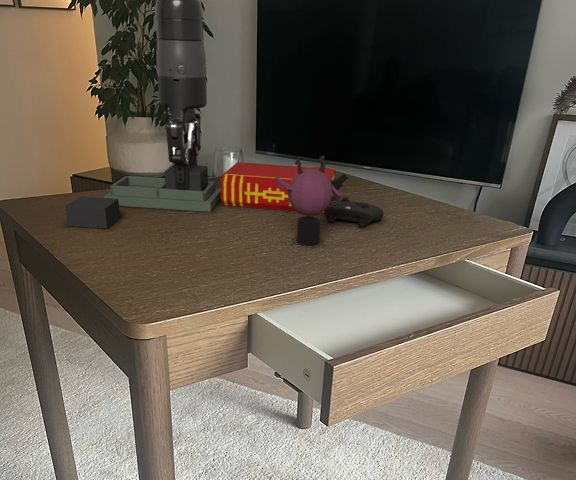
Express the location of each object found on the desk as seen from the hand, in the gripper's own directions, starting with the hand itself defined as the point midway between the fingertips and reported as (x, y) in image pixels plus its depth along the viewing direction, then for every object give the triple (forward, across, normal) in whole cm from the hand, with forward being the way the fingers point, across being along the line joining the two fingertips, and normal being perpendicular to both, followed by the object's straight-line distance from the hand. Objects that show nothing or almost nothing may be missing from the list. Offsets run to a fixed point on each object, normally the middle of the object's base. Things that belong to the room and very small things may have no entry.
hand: (186, 183), depth 103 cm
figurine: (+3, +18, +22) cm, 29 cm away
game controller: (+4, +5, +28) cm, 29 cm away
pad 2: (+1, 0, 0) cm, 1 cm away
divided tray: (+3, 0, -4) cm, 5 cm away
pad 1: (+3, +15, -11) cm, 19 cm away
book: (+3, -5, +16) cm, 17 cm away
